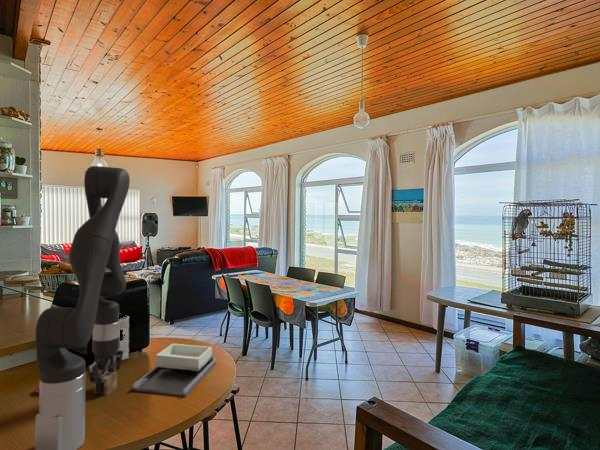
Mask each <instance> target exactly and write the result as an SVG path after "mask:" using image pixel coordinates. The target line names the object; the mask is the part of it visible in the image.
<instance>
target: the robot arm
mask: <svg viewBox="0 0 600 450" xmlns="http://www.w3.org/2000/svg"><path fill="white" fill-rule="evenodd" d="M130 180H131V179H130V174H129V172H128V171H127V170H126V169H124V168H121V167H110V166H109V167H108V166H99V165H98V166H97V165H93V166H90V167H88V168H87V169H86V171H85V174H84V180H83V181H84V183H83V184H84V193H85V199H86V204H87V209H88V210H87V211H88V216H89V219H88V220H86V221H85V222H84V223H83V224H82V225H81V226H79V228H78V229H77V230H76V232H75V234H74V236H73V240H72V241H71V246H70V249H69V251H68V260H69V263H70V266H71V269H72V272H73V274H74V277H75V278H76V281H77V284H78V288H79V295H78V302H77V305H76V307H48V308H46V309H45V310H43V312H41V313H40V315H39V317H38V319H37V321H36V326H35V333H34V335H35V338H34V339H35V351H36V352H35V354H36V368H37V372H38V374H39V384H40V392H39V394H38V396H39V401H38V402H39V403H38V404H39V405H38V406H39V407H38V409H39V410H38V411H39V412H38V413H37V414H35V425H34V426H35V431H34V432H35V436H34V438H35V442H34V443H35V444H34V445H35V447H34V450H79V448H81V447H82V446H83V444H84V443H85V439H86V438H85V437H86V370H87V374H88V378H89V383H93V384H94V383H96V393H97V394H96V395H103V393H104V378H105V374H107V372H115V373H117V374H118V372H117V371H119V370H121V367H122V362H123V360H122V356H123V351H121V350H119V348H120V324H119V314H120V304H119V303H118V302H116V301H113V300H106V299H105V298H103V296H115V295H121V294H123V292H124V291H125V290H126V288H127V281H126V280H127V279H126V277H125V274H124V271H123V269H122V264H121V260H120V259H121V256H120V238H119V235H118V232H117V230H116V229H117V225H118V221H119V219H120V215H121V212H122V209H123V207H124V204H125V202H126V198H127V195H128V192H129V187H130V182H131V181H130ZM102 199H106V200H105V202H104V204H103V203H102ZM102 204H103V205H102ZM106 269H108V270H110V271H108V272H106ZM91 337H92V353H93V354H94V356H95V357H94V361H93V363H92V364H89V365H87V367H86V360H85V358H83V357H82V356H79V355H77V354H74V353H72V352H70V351H69V350H68V349H73V348H74V349H77V348H78V349H79V348H83V347H85V346H86V345H87V344H88V343H89V341H90V340H91ZM99 374H101V378H100V377H99ZM94 377H95V378H94Z"/></svg>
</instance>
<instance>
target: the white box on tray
mask: <svg viewBox="0 0 600 450" xmlns="http://www.w3.org/2000/svg"><path fill="white" fill-rule="evenodd" d="M212 354H213V347H212V346H205V345H194V344H182V343H181V344H180V343H171V344H170V345H169V346H167V347H165V348H164V349H163V350H161V351H159V353H157V354H155V367H162V369H163V370H166V369H167V368H175V369H185V370H191V371H192V372H193V373H196V372H197V371H199V370H200V369H201V368H202V367H203V366H204V365H205V364H206V363H207V362H208V361H209V360H210V359H211V358H212Z"/></svg>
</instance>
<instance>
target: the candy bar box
mask: <svg viewBox="0 0 600 450" xmlns="http://www.w3.org/2000/svg"><path fill="white" fill-rule="evenodd" d="M126 316H127V317H123V318H120V319H119V324H120V330H123V332H122V334H123V337H124V338H123V337H122V338H123V340H121V341H120V348H119V350H121V351H123V356H122V361H124V360H129V358H130V356H129V355H130V353H129V352H130V316H128V315H126ZM124 335H125V336H124Z"/></svg>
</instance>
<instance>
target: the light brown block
mask: <svg viewBox="0 0 600 450" xmlns="http://www.w3.org/2000/svg"><path fill="white" fill-rule="evenodd" d="M99 377H100V378H101V374H99ZM94 378H95V377H94ZM117 381H118V372H117V373H115V372H107V374H105V378H104V393H103V394H102V396H103V395H105V396H108V395H109V394H111V393H112V392H113V391H115V390H116V389H117V388H118V382H117ZM93 384H94V385H93V394H96V395H98V394H97V393H96V383H93Z"/></svg>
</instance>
